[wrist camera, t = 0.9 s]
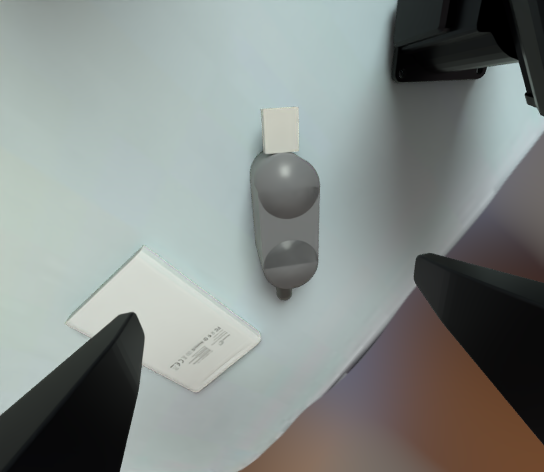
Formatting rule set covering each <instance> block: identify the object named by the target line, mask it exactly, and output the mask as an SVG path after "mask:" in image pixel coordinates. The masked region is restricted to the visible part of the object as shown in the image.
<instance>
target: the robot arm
mask: <svg viewBox="0 0 544 472" xmlns="http://www.w3.org/2000/svg"><path fill="white" fill-rule="evenodd" d="M394 45H395V49H394V58H393V67H392V79H393V81H394V82H396V83H405V82H425V81H446V80H467V79H478V78H481V77H482V76H483V75H484V74H485V72H486V69H487V67H490V66H497V65H504V64H510V63H517V62H519V65H520V68H521V72H522V76H523V80H524V83H525V87H526V91H527V92H526V93H525V98H526V102H527V104H528V105H531V106H533V107H536V108H537V109H538V111H539V113H540V115H542V116H544V0H398V6H397V15H396V24H395V33H394ZM477 68H478V72H477V73H476V69H477ZM400 70H402V72H403V74H402V77H401V78H400V77H399V71H400ZM414 281H415V283H416V285H417V286H418V288H419V289H420V291H421V292H422V294H423V295H424V296H425V298H426V300H427V301H428V302H429V304H430V306H431V307H432V308H433V310H434V311H435V313H436V314H437V316H438V317H439V319H440V320H441V321H442V323H443V324H444V325H445V326H446V328H447V329H448V330H449V331H450V333H451V334H452V335H453V336H454V337H455V339H456V340H457V341H458V342H459V343H460V345H461V346H462V347H463V348H464V349H465V351H466V352H467V353H468V354H469V355H470V357H471V358H472V359H473V360H474V362H475V363H476V364H477V365H478V366H479V367H480V369H481V370H482V371H483V372H484V373H485V375H486V376H487V377H488V378H489V380H490V381H491V382H492V383H493V384H494V386H495V387H496V388H497V389H498V390H499V392H500V393H501V394H502V395H503V396H504V398H505V399H506V400H507V401H508V403H509V404H510V405H511V406H512V407H513V409H515V411H516V412H517V413H518V415H519V416H520V417H521V418H522V419H523V421H524V422H525V423H526V424H527V425H528V427H529V428H530V429H531V430H532V431H533V433H534V434H535V435H536V436H537V438H538V439H539V440H540V441H541V442H542V443H543V445H544V283H542V282H538V281H534V280H530V279H527V278H522V277H519V276H515V275H511V274H508V273H504V272H499V271H496V270H493V269H489V268H485V267H481V266H477V265H474V264H470V263H466V262H463V261H459V260H455V259H451V258H447V257H444V256H440V255H436V254H432V253H427V254H422V255H419V256H417V258H416V262H415V270H414ZM144 342H145V335H144V331H143V329H142V326H141V324H140V322H139V319H138V317H137V315H136V313H134V312H128V313H123V314H120V315H118V316H117V317H116V318H114V319H113V320H112V321H111V322H110V323H109V324H107V325H106V326H105V327H104V328H103V329H102V330H100V331H99V332H98V333H97V334H96V335H94V336H93V337H92V338H91V339H90V340H89V341H87V342H86V343H85V344H84V345H83V346H82V347H80V348H79V349H78V350H77V351H76V352H74V353H73V354H72V355H71V356H70V357H69V358H67V359H66V360H65V361H64V362H63V363H62V364H60V365H59V366H58V367H57V368H56V369H55V370H53V371H52V372H51V373H50V374H49V375H47V376H46V377H45V378H44V379H43V380H42V381H40V382H39V383H38V384H37V385H36V386H35V387H33V388H32V389H31V390H30V391H29V392H28V393H26V394H25V395H24V396H23V397H22V398H20V399H19V400H18V401H17V402H16V403H15V404H13V405H12V406H11V407H10V408H9V409H8V410H6V411H5V412H4V413H3V414H2V415H1V416H0V472H120V468H121V464H122V460H123V455H124V451H125V447H126V443H127V438H128V434H129V430H130V426H131V421H132V417H133V413H134V408H135V404H136V400H137V395H138V390H139V384H140V376H141V368H142V359H143V351H144Z"/></svg>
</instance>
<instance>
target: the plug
mask: <svg viewBox="0 0 544 472" xmlns="http://www.w3.org/2000/svg"><path fill="white" fill-rule="evenodd" d="M261 122H262V138H263V151H262V152H261V153H260V154H259V155H258V156H257V157H256V158H255V159H254V161H253V163H252V165H251V169H250V183H251V195H252V207H253V219H254V231H255V243H256V247H257V250H258V254H259V257H260V261H261V264H262V267H263V271H264V274H265V276H266V278H267V280H268V281H269V282H270V283H271V284H272V285H274V286H276V290H277V296H278V298H279V299H280V300H283V301H286V300H288V299H290V297H291V296H292V288H296V287H299V286H301V285H303V284H305V283H306V282H308V281H309V280H310V279H311V278H312V277H313V275H314V274H315V272H316V270H317V266H318V248H319V201H320V181H319V177H318V174H317V172H316V170H315V169H314V167H313V166H312V165H311V164H310V163H309V162H307V161H305V160H304V159H302V158H300V157H299V156H297V155H295V154H294V153H292V152H297V151H299V111H298V107H285V108H268V109H261Z"/></svg>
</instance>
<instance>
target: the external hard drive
mask: <svg viewBox="0 0 544 472" xmlns="http://www.w3.org/2000/svg"><path fill="white" fill-rule="evenodd" d="M128 312H134V313H136V315H137V317H138V319H139V322H140V324H141V326H142V329H143V331H144V335H145V342H144V351H143V359H142V365H143V366H145V367H147V368H149V369H151V370H153V371H155V372H156V373H158V374H160V375H162V376H164V377H166V378H168V379H170V380H172V381H174V382H176V383H177V384H179V385H181V386H183V387H185V388H187V389H189V390H191V391H192V392H194V393H197V392H199V391H201V390H202V389H203V388H204V387H205V386H207V385H208V384H209V383H210V382H211V381H213V380H214V379H215V378H216V377H218V376H219V375H220V374H221V373H222V372H224V371H225V370H226V369H227V368H229V367H230V366H231V365H232V364H234V363H235V362H236V361H237V360H239V359H240V358H241V357H242V356H243V355H245V354H246V353H247V352H248V351H250V350H251V349H252V348H253V347H255V346H256V345H257V344H258V343H259V342H260V340H261V335H260V332H259V331H258V330H257V329H255V328H254V327H253V326H251V325H250V324H248V323H247V322H246V321H244V320H243V319H242V318H240V317H239V316H238V315H237V314H235V313H234V312H233V311H231V310H230V309H229V308H227V307H226V306H225V305H223V304H222V303H221V302H219V301H218V300H217V299H215V298H214V297H213V296H211V295H210V294H209V293H208V292H206V291H205V290H203V289H202V288H201V287H199V286H198V285H197V284H195V283H194V282H193V281H192V280H190V279H189V278H188V277H186V276H185V275H184V274H182V273H181V272H180V271H178V270H177V269H176V268H174V267H173V266H172V265H170V264H169V263H168V262H166V261H165V260H164V259H162V258H161V257H160V256H158V255H157V254H156V253H154V252H153V251H152V250H150V249H149V248H148V247H147V246H145V245H143V246H142V247H141V248H140V249H139V250H138V251H137V252H136V253H135V254H134V255H133V256H132V257H131V258H129V259H128V260H127V261H126V262H125V263H124V264H123V265H122V266H121V267H120V268H119V269H118V270H117V271H116V272H115V273H114V274H113V275H112V276H111V277H110V278H109V279H108V280H106V281H105V282H104V283H103V284H102V285H101V286H100V287H99V288H98V289H97V290H96V291H95V292H94V293H93V294H92V295H91V296H90V297H89V298H88V299H87V300H85V301H84V302H83V303H82V304H81V305H80V306H79V307H78V308H77V309H76V310H75V311H74V312H73V313H72V314H71V315H70V316H69V318H68V319H67V321H66V322H65V324H66V325H67V326H69V327H71V328H73V329H75V330H77V331H79V332H81V333H82V334H84V335H86V336H88V337H90V338H92V337H93V336H94V335H96V334H97V333H98V332H99V331H100V330H102V329H103V328H104V327H105V326H106V325H107V324H109V323H110V322H111V321H112V320H113V319H114V318H116V317H117V316H118V315H120V314H123V313H128Z"/></svg>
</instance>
